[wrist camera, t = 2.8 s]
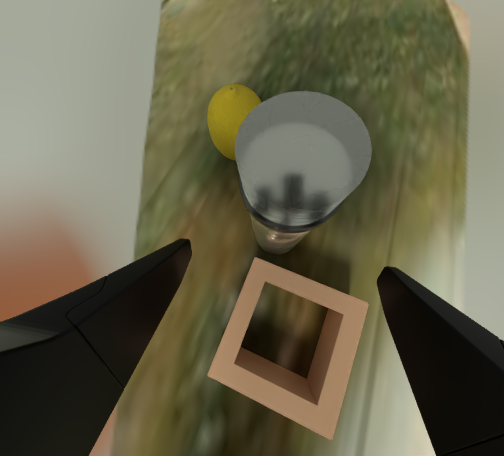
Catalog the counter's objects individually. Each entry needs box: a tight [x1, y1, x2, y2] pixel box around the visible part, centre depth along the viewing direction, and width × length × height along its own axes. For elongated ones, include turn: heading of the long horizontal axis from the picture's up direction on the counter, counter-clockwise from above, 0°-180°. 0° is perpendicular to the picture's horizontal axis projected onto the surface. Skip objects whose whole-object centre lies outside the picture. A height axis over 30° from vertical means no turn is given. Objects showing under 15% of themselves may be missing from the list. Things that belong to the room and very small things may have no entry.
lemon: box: [207, 84, 261, 161], centre depth 18 cm, size 6×6×8 cm
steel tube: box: [235, 91, 372, 255], centre depth 13 cm, size 5×5×14 cm
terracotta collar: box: [207, 257, 369, 441], centre depth 16 cm, size 9×9×4 cm
